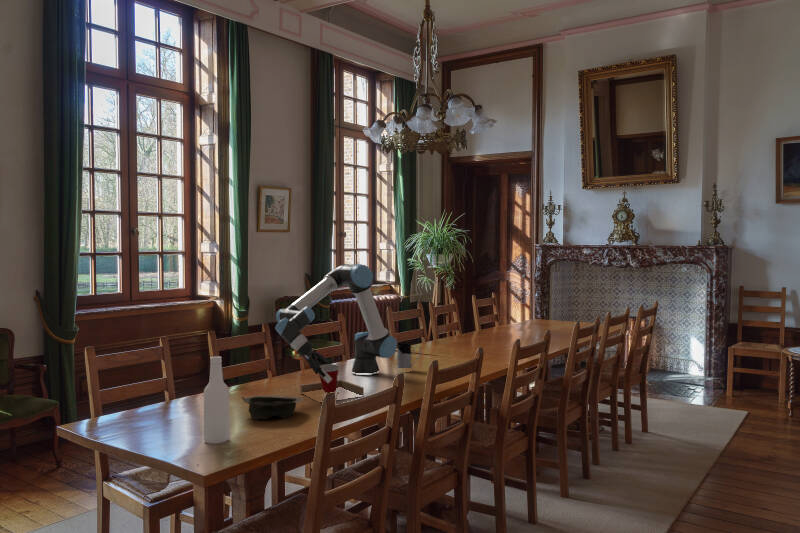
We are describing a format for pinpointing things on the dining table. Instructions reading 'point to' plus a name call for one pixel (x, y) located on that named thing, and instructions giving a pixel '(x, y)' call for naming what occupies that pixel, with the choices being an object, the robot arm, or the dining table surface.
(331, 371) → the plastic cup
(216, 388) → the alcohol
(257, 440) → the dining table surface
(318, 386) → the tray
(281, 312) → the robot arm
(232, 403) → the dining table surface
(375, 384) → the dining table surface
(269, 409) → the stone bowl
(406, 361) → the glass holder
